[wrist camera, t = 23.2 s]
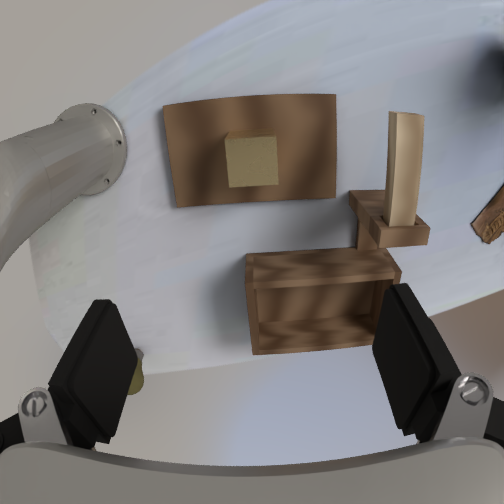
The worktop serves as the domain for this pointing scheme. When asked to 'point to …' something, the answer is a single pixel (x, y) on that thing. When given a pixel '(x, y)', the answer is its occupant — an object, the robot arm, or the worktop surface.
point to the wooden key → (403, 168)
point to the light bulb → (137, 375)
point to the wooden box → (327, 285)
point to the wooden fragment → (491, 219)
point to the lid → (252, 148)
